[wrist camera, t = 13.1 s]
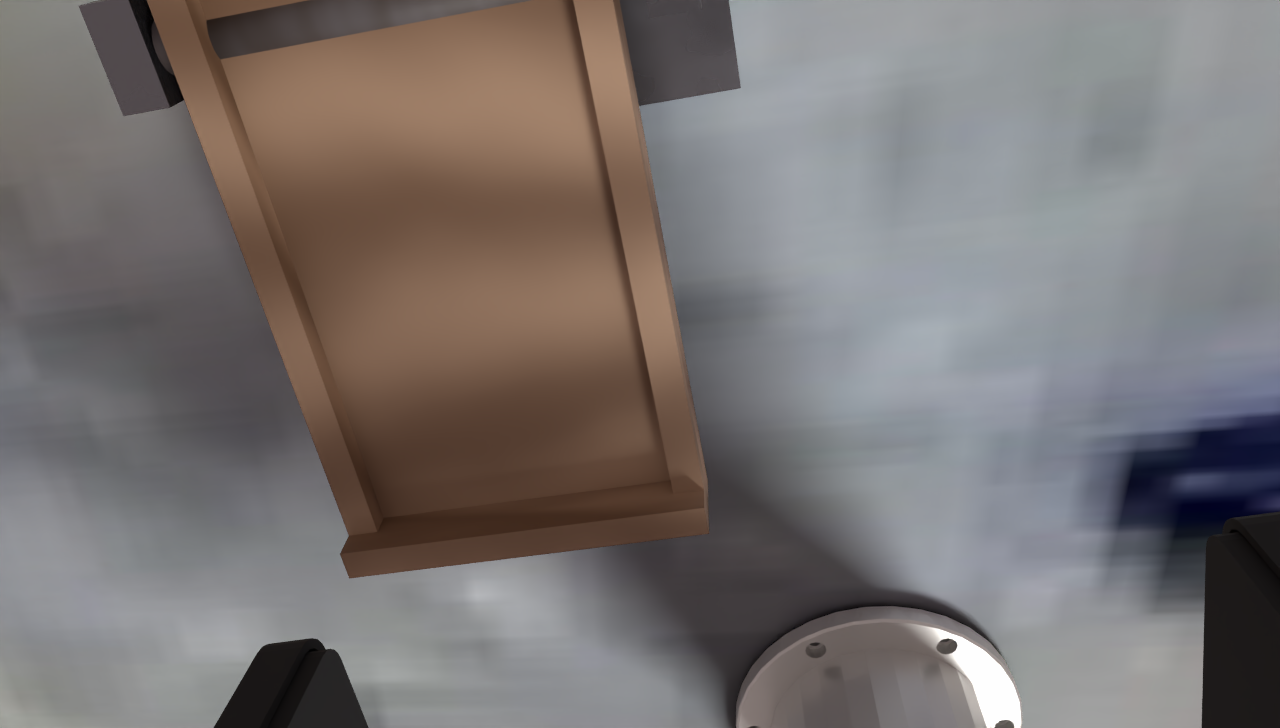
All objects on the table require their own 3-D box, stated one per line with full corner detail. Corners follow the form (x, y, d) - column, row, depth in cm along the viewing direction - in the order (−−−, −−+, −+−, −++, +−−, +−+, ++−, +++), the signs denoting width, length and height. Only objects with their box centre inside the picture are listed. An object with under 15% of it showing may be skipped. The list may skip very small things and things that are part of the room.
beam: (725, 475, 36) (728, 531, 33) (359, 522, 37) (332, 580, 34) (476, -948, 21) (443, -1072, 18) (-118, -766, 22) (-236, -854, 19)
